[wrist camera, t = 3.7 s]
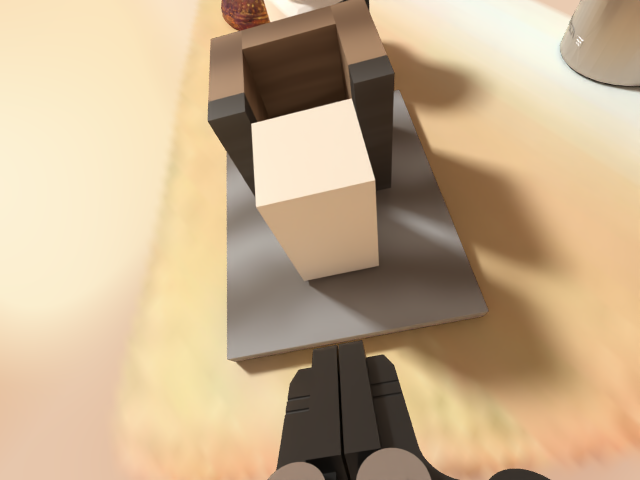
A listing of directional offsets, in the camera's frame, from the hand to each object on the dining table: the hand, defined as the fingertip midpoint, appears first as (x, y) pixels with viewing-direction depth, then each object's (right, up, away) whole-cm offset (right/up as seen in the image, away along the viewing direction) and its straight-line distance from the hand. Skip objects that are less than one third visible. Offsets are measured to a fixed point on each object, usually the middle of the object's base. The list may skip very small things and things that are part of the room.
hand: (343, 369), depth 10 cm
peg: (0, +4, +12) cm, 13 cm away
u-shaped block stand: (0, +6, +15) cm, 17 cm away
